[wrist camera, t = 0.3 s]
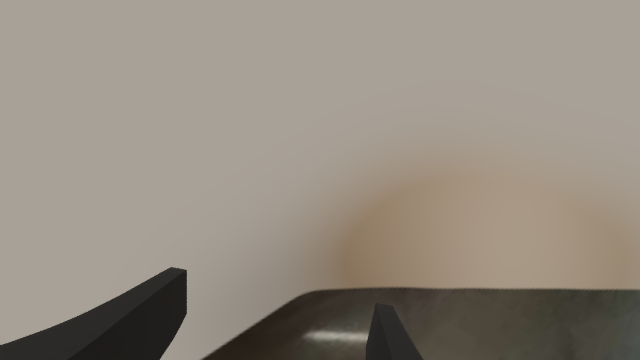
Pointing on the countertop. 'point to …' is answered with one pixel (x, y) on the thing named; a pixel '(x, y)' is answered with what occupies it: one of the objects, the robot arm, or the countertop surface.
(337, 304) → the countertop surface
